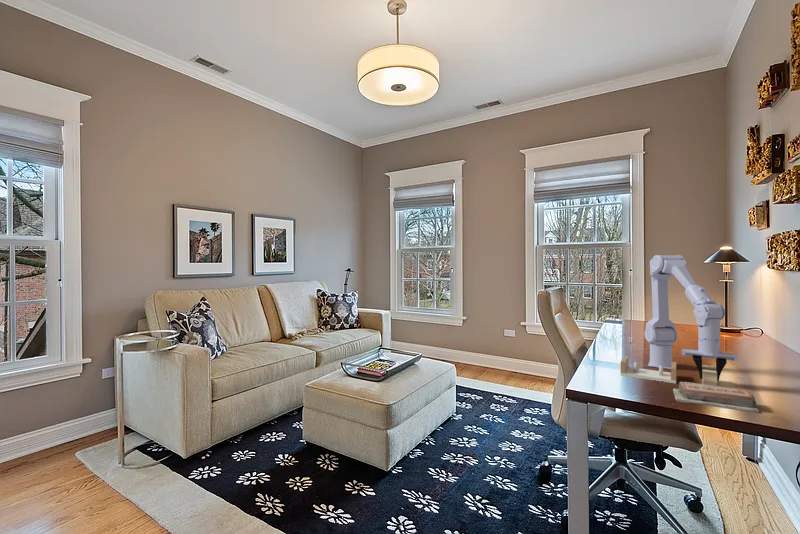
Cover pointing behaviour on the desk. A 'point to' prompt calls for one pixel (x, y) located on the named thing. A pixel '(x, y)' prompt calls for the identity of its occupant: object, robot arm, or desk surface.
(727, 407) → the packaged product
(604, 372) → the desk surface
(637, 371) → the wooden peg tray
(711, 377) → the shelf board
